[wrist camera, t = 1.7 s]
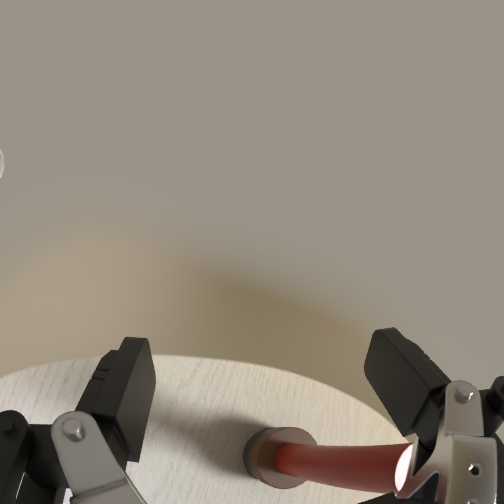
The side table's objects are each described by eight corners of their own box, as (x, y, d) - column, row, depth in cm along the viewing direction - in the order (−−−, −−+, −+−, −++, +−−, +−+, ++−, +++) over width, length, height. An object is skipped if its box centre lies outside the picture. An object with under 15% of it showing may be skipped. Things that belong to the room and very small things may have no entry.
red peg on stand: (233, 475, 16) (356, 526, 5) (252, 419, 20) (386, 408, 9) (290, 485, 17) (429, 511, 6) (305, 433, 20) (447, 420, 9)
